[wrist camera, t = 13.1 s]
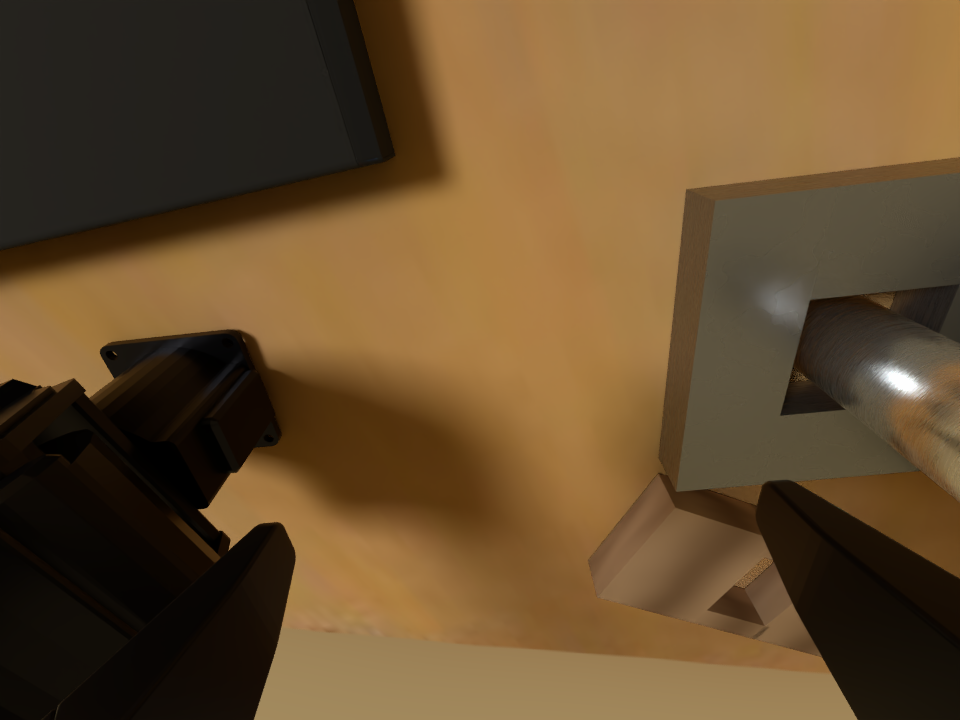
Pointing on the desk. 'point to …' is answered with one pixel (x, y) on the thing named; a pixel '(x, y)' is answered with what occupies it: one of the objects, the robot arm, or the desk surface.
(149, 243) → the desk surface
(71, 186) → the external hard drive
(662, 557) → the wooden block with hole
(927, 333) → the steel axle
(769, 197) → the block
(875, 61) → the desk surface
